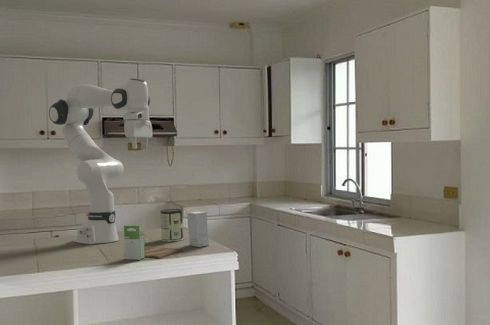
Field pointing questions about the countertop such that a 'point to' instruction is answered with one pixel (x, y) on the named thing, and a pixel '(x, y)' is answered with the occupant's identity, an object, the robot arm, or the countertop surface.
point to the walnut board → (160, 252)
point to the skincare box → (198, 229)
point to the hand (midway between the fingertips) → (139, 148)
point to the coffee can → (171, 225)
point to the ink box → (134, 244)
